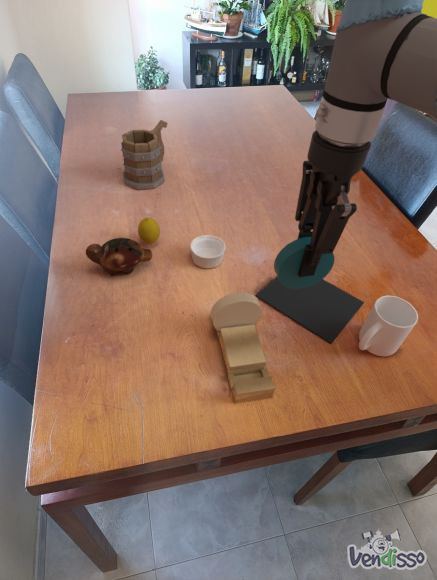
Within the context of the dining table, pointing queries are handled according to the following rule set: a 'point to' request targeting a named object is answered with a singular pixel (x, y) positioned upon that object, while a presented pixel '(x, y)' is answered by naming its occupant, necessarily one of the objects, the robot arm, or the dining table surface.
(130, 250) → the brown piece
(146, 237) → the lemon
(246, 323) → the cream disc
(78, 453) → the dining table surface
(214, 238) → the ramekin
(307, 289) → the mat
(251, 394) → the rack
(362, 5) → the robot arm
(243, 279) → the dining table surface
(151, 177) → the tankard
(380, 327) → the mug
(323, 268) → the teal disc
